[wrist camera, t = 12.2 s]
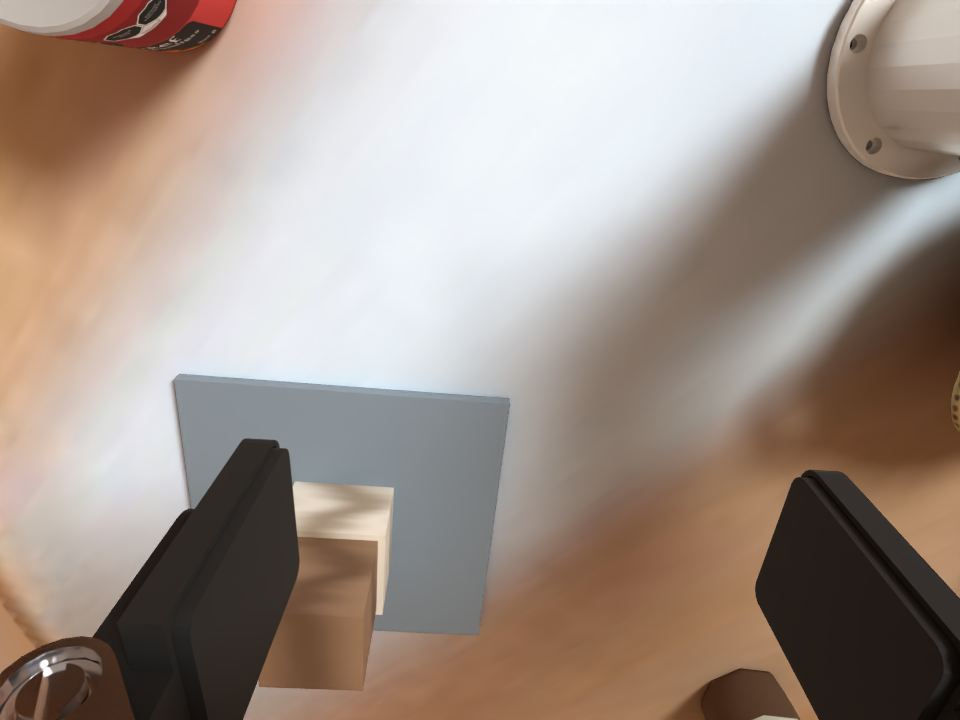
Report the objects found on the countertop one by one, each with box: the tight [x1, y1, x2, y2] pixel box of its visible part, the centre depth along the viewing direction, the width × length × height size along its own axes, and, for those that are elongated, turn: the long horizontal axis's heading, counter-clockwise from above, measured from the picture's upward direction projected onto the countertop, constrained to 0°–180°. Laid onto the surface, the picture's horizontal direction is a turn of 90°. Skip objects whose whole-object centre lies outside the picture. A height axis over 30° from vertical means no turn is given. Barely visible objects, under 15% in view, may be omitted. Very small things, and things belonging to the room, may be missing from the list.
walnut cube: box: [259, 537, 378, 691], centre depth 36 cm, size 6×6×6 cm
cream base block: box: [293, 481, 394, 615], centre depth 41 cm, size 7×7×5 cm
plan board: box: [174, 374, 510, 635], centre depth 43 cm, size 22×22×1 cm
